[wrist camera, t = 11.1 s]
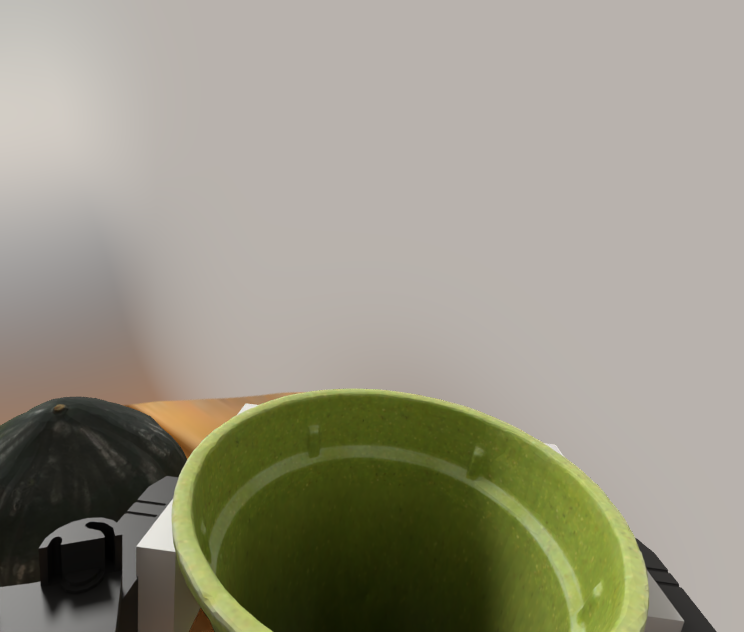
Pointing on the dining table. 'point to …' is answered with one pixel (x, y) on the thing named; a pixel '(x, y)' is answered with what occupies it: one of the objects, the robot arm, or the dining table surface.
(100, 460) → the squash
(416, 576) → the plant pot
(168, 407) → the dining table surface
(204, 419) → the dining table surface
